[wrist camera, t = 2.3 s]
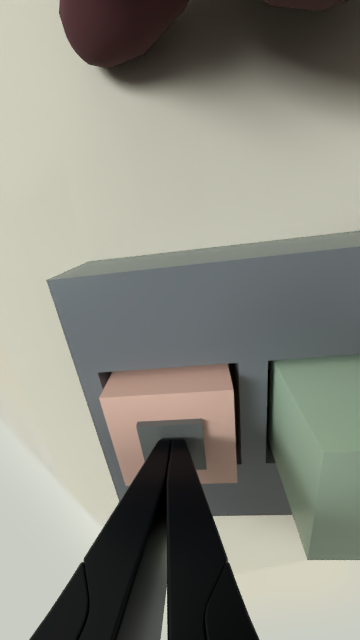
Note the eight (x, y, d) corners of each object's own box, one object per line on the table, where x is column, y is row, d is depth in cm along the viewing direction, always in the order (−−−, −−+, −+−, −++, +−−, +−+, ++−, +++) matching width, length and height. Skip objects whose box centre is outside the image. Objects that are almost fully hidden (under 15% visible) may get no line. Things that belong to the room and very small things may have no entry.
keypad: (578, 206, 8) (771, 201, 5) (468, 445, 12) (546, 510, 10) (87, 261, 10) (46, 280, 7) (138, 457, 14) (124, 517, 11)
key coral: (220, 331, 11) (234, 394, 7) (224, 405, 12) (238, 488, 8) (129, 339, 11) (96, 402, 7) (144, 409, 12) (124, 491, 9)
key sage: (394, 346, 8) (559, 453, 4) (372, 435, 10) (481, 570, 6) (270, 354, 9) (328, 461, 5) (268, 440, 10) (310, 569, 6)
